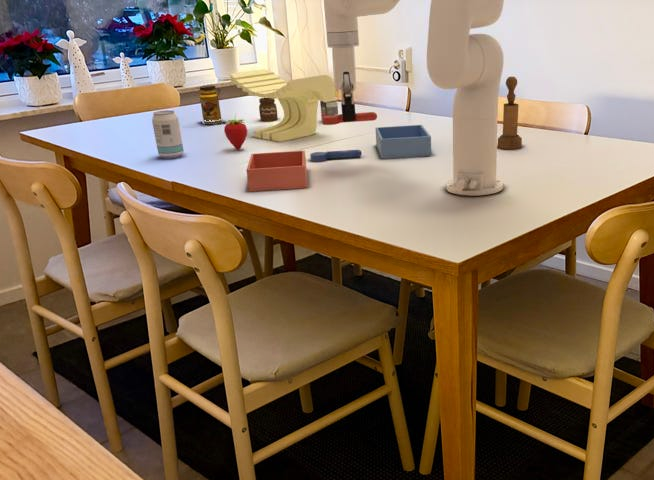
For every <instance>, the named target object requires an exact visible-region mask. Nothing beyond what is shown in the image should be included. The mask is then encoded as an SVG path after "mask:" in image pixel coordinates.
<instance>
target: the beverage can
mask: <svg viewBox="0 0 654 480" xmlns="http://www.w3.org/2000/svg"><path fill="white" fill-rule="evenodd" d="M152 114H153V115H152V118H151V123H152V127H153V133H154V139H155V143H156V149H157V155H158V156H160V157H162V158H163V159H164V160H165V159H166V160H168V159H169V160H170V159H177V158H180V157H181V156H182V155H183V154H184V153H185V150H184V144H183V139H182V134H181V129H180V121H179V117H178V115H177V114H176V112H175V110H159V111H154V112H152Z"/></svg>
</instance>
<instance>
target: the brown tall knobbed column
mask: <svg viewBox="0 0 654 480" xmlns="http://www.w3.org/2000/svg"><path fill="white" fill-rule="evenodd" d="M517 85H518V78H517V77H515V76H508V77H507V78H506V80H505V86H506V88H507V90H508V93H507V95H506V98H507V103H503V117H502V134H501V135H500V136H499V137H497V149H498V148H499V149H500V150H501V149H502V150H517V149H520V148H522V147H523V144H522V143H523V138H522V137H521V135H519V134H518V128H519V127H518V123H519V107H520V106H519V104H518V103H515V100H516V94H515V89H516V87H517Z"/></svg>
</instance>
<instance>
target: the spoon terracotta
mask: <svg viewBox="0 0 654 480" xmlns="http://www.w3.org/2000/svg"><path fill="white" fill-rule="evenodd" d="M355 115H356V120H355V121H349V122H348V123H356V122H370V121H371V122H372V121H375V120H377V118H378V114H377V113H376V112H375V111H368V112H355ZM342 123H345V122H344V121H343V116H342V113H338V115H328V116H323V117H322V119H321V125H324V126H335V125H339V124H342Z"/></svg>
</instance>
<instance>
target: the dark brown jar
mask: <svg viewBox="0 0 654 480" xmlns="http://www.w3.org/2000/svg"><path fill="white" fill-rule="evenodd" d="M258 98H259V99H258V102H259V107H258V111H259V118H260V120H261V121H262V122H274V121H277V120H278V119H279V118H278V117H279V116H278V108H277V104H276V103H275V102H276V99H272V98H267V97H265V98H264V97H258Z"/></svg>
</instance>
